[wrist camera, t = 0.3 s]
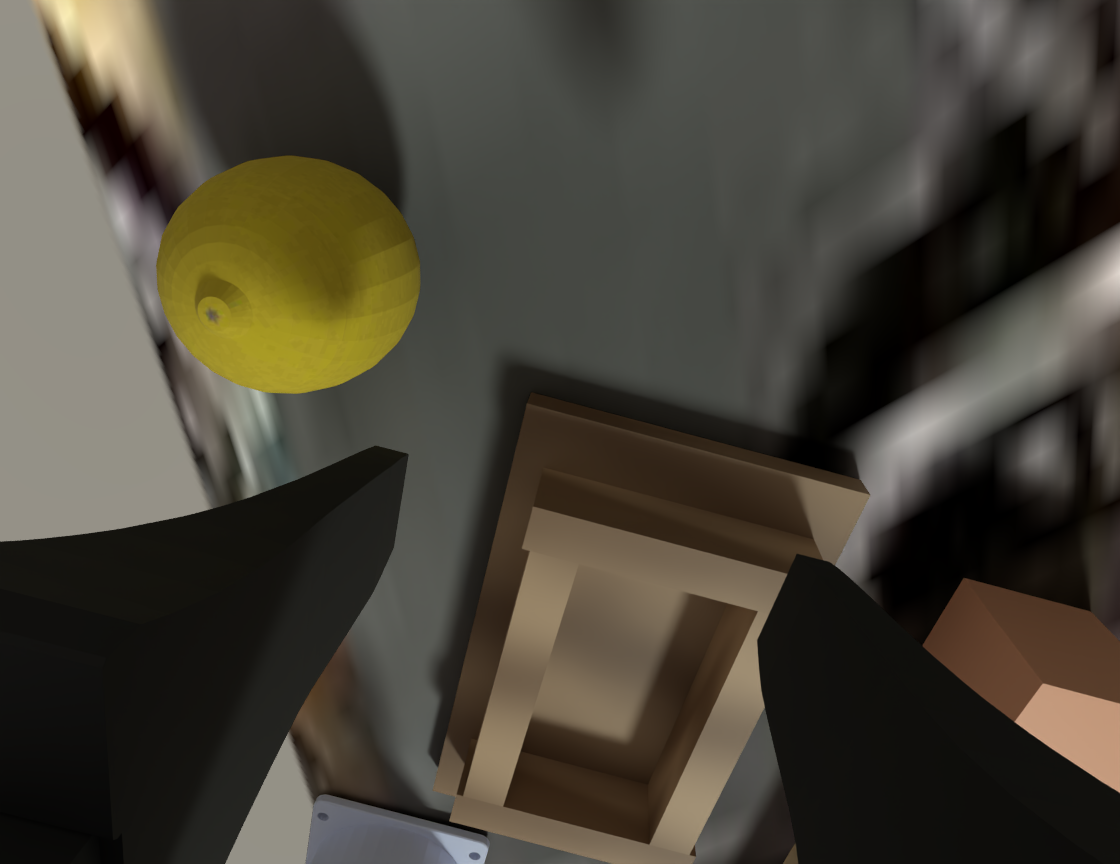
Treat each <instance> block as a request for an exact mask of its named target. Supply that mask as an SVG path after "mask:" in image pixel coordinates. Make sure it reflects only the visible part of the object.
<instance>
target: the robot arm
mask: <svg viewBox="0 0 1120 864" xmlns="http://www.w3.org/2000/svg"><path fill="white" fill-rule="evenodd" d="M407 461H408V454H406V453H402V452H398V451H395V450H391V449H387V448H383V447H379V446H374V447H371V448H368V449H366V450H363V451H361V452H359V453H357V454H354V455H352V456H350V457H348V458H345V459H343V460H341V461H339V462H337V463H334V464H332V465H330V466H328V467H325V468H323V469H321V470H318V471H316V472H314V473H312V474H309V475H307V476H305V477H302V478H300V479H298V480H295V481H292V482H290V483H287V484H284V485H282V486H279V487H276V488H274V489H271V490H268V491H266V492H263V493H260V494H258V495H255V496H253V497H250V498H247V499H244V500H241V501H237V502H234V503H231V504H228V505H224V506H221V507H217V508H214V509H210V510H206V511H203V512H199V513H195V514H191V515H187V516H183V517H178V518H173V519H169V520H163V521H159V522H153V523H148V524H143V525H138V526H133V527H128V528H123V529H116V530H110V531H103V532H95V533H89V534H81V535H73V536H64V537H54V538H45V539H34V540H22V541H4V542H0V864H225V863H226V860H227V858H228V856H229V854H230V852H231V850H232V848H233V845H234V843H235V841H236V839H237V837H238V834H239V832H240V830H241V828H242V826H243V824H244V822H245V820H246V817H247V815H248V813H249V811H250V809H251V807H252V805H253V803H254V801H255V799H256V797H257V795H258V793H259V791H260V788H261V786H262V784H263V782H264V780H265V778H266V776H267V774H268V772H269V770H270V767H271V766H272V764H273V762H274V760H275V757H276V756H277V754H278V752H279V750H280V748H281V746H282V744H283V741H284V740H285V738H286V736H287V734H288V732H289V730H290V728H291V726H292V724H293V722H294V720H295V718H296V716H297V714H298V712H299V710H300V708H301V707H302V705H303V703H304V701H305V700H306V698H307V696H308V694H309V693H310V691H311V689H312V688H313V686H314V685H315V683H316V681H317V680H318V678H319V677H320V675H321V674H322V672H323V671H324V669H325V667H326V666H327V664H328V663H329V661H330V660H331V658H332V656H333V655H334V653H335V652H336V650H337V649H338V647H339V646H340V644H341V642H342V641H343V639H344V638H345V636H346V635H347V633H348V631H349V630H350V628H351V627H352V625H353V624H354V622H355V620H356V619H357V617H358V616H359V614H360V613H361V611H362V609H363V608H364V606H365V605H366V603H367V601H368V600H369V598H370V597H371V595H372V593H373V592H374V589H375V587H376V585H377V583H378V581H379V579H380V577H381V575H382V573H383V570H384V568H385V566H386V564H387V561H388V559H389V557H390V555H391V552H392V550H393V548H394V543H395V536H396V530H397V524H398V517H399V511H400V505H401V499H402V492H403V486H404V480H405V473H406V467H407ZM757 648H758V662H759V674H760V683H761V692H762V696H763V701H764V706H765V710H766V714H767V719H768V723H769V727H770V732H771V736H772V740H773V744H774V748H775V752H776V757H777V761H778V765H779V769H780V773H781V777H782V782H783V786H784V790H785V794H786V798H787V802H788V806H789V811H790V816H791V821H792V826H793V831H794V836H795V843H796V851H797V858H798V864H1120V793H1119V792H1118V791H1116V790H1115V789H1113V788H1111V787H1110V786H1108V785H1106V784H1105V783H1103V782H1102V781H1100V780H1098V779H1097V778H1095V777H1094V776H1092V775H1091V774H1089V773H1088V772H1086V771H1085V770H1083V769H1082V768H1080V767H1079V766H1077V765H1076V764H1074V763H1073V762H1071V761H1070V760H1068V759H1067V758H1065V757H1064V756H1062V755H1061V754H1059V753H1058V752H1056V751H1055V750H1053V749H1052V748H1050V747H1049V746H1047V745H1046V744H1044V743H1043V742H1042V741H1040V740H1039V739H1037V738H1036V737H1034V736H1033V735H1032V734H1030V733H1029V732H1027V731H1026V730H1025V729H1023V728H1022V727H1021V726H1019V725H1018V724H1017V723H1015V722H1014V721H1013V720H1011V719H1010V718H1009V717H1007V716H1006V715H1005V714H1004V713H1002V712H1001V711H1000V710H998V709H997V708H996V707H994V706H993V705H992V704H990V703H989V702H988V701H986V700H985V699H984V698H983V697H981V696H980V695H979V694H978V693H976V692H975V691H974V690H973V689H971V688H970V687H969V686H968V685H967V684H965V683H964V682H963V681H962V680H961V679H960V678H958V677H957V676H956V675H955V674H954V673H953V672H951V671H950V670H949V669H948V668H947V667H946V666H944V665H943V664H942V663H941V662H940V661H939V660H937V659H936V658H935V657H934V656H933V655H932V654H931V653H930V652H928V651H927V650H926V649H925V648H924V647H923V646H922V645H921V644H920V643H918V642H917V641H916V640H915V639H914V638H913V637H912V636H911V635H910V634H909V633H908V632H907V631H905V630H904V629H903V628H902V627H901V626H900V625H899V624H898V623H897V622H896V621H895V620H894V619H893V618H892V617H891V616H890V615H888V614H887V613H886V612H885V611H884V610H883V609H882V608H881V607H880V606H879V605H878V604H877V603H876V602H875V601H874V600H873V599H872V598H871V597H870V596H868V595H867V594H866V593H865V592H864V591H863V590H862V589H861V588H860V587H859V586H858V585H857V584H856V583H855V582H853V581H852V580H851V579H850V578H849V577H848V576H847V575H846V574H844V573H843V572H842V571H841V570H840V569H838V568H837V567H836V566H835V565H833V564H832V563H830V562H828V561H824V560H820V559H816V558H812V557H808V556H805V555H801V554H796V556H795V559H794V561H793V563H792V565H791V567H790V569H789V572H788V574H787V576H786V578H785V580H784V583H783V585H782V587H781V589H780V591H779V593H778V596H777V598H776V600H775V602H774V604H773V606H772V609H771V611H770V613H769V615H768V617H767V620H766V622H765V624H764V626H763V628H762V630H761V633H760V635H759V637H758V639H757ZM488 848H489V840H488V839H487V838H486V837H485V836H484V835H481V834H478V833H474V832H470V831H466V830H462V829H458V828H455V827H451V826H447V825H443V824H439V823H435V822H431V821H428V820H424V819H420V818H416V817H412V816H408V815H405V814H401V813H397V812H393V811H389V810H385V809H381V808H378V807H374V806H370V805H366V804H362V803H358V802H355V801H351V800H347V799H343V798H339V797H335V796H331V795H326V794H324V795H320V796H318V797H317V799H316V801H315V803H314V806H313V813H312V821H311V828H310V835H309V842H308V849H307V857H306V864H484V862H485V859H486V856H487V852H488Z"/></svg>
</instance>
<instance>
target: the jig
mask: <svg viewBox="0 0 1120 864" xmlns="http://www.w3.org/2000/svg"><path fill="white" fill-rule="evenodd" d="M869 497H870V494H869V492H868V491H867V489H866V488H865V486H864V485H863V483H862V481H861V480H859V479H855V478H851V477H847V476H844V475H840V474H836V473H832V472H829V471H825V470H821V469H817V468H814V467H810V466H806V465H802V464H799V463H795V462H791V461H787V460H784V459H780V458H776V457H772V456H769V455H765V454H761V453H757V452H754V451H750V450H746V449H742V448H739V447H735V446H731V445H727V444H724V443H720V442H716V441H712V440H709V439H705V438H701V437H697V436H694V435H690V434H686V433H682V432H679V431H675V430H671V429H667V428H664V427H660V426H656V425H652V424H649V423H645V422H641V421H637V420H634V419H630V418H626V417H622V416H619V415H615V414H611V413H607V412H604V411H600V410H596V409H592V408H589V407H585V406H581V405H577V404H574V403H570V402H566V401H562V400H559V399H555V398H551V397H547V396H544V395H540V394H536V393H532V392H531V394H530V397H529V399H528V402H527V405H526V409H525V413H524V417H523V422H522V426H521V430H520V434H519V438H518V442H517V446H516V450H515V454H514V459H513V463H512V467H511V471H510V475H509V479H508V483H507V487H506V491H505V496H504V500H503V504H502V508H501V512H500V516H499V520H498V524H497V528H496V532H495V537H494V541H493V545H492V549H491V553H490V557H489V561H488V565H487V569H486V574H485V578H484V582H483V586H482V590H481V594H480V598H479V602H478V606H477V610H476V615H475V619H474V623H473V627H472V631H471V635H470V639H469V643H468V647H467V652H466V656H465V660H464V664H463V668H462V672H461V676H460V680H459V684H458V689H457V693H456V697H455V701H454V705H453V709H452V713H451V717H450V721H449V725H448V730H447V734H446V738H445V742H444V746H443V750H442V754H441V758H440V762H439V767H438V771H437V775H436V779H435V783H434V787H433V791H436V792H440V793H443V794H447V795H451V796H455V797H456V798H455V802H454V805H453V809H452V813H451V817H450V820H449V821H451V822H454V823H458V824H462V825H466V826H470V827H474V828H478V829H481V830H485V831H489V832H493V833H497V834H501V835H504V836H508V837H512V838H516V839H520V840H524V841H528V842H531V843H535V844H539V845H543V846H547V847H551V848H554V849H558V850H562V851H566V852H570V853H574V854H578V855H581V856H585V857H589V858H593V859H597V860H601V861H604V862H608V863H612V864H692V863H693V862H694V860H695V858H696V852H695V843H696V841H697V839H698V837H699V835H700V833H701V831H702V829H703V827H704V825H705V823H706V821H707V819H708V817H709V815H710V813H711V811H712V809H713V807H714V806H715V804H716V802H717V800H718V798H719V796H720V794H721V792H722V790H723V788H724V786H725V784H726V782H727V780H728V778H729V776H730V774H731V772H732V770H733V768H734V766H735V764H736V762H737V760H738V758H739V756H740V754H741V752H742V750H743V748H744V746H745V745H746V743H747V741H748V739H749V737H750V735H751V733H752V731H753V729H754V727H755V725H756V723H757V721H758V719H759V717H760V715H761V713H762V711H763V709H764V707H765V706H764V701H763V696H762V692H761V683H760V674H759V662H758V648H757V639H758V637H759V635H760V633H761V630H762V628H763V626H764V624H765V622H766V620H767V617H768V615H769V613H770V611H771V609H772V606H773V604H774V602H775V600H776V598H777V596H778V593H779V591H780V589H781V587H782V585H783V583H784V580H785V578H786V576H787V574H788V572H789V569H790V567H791V565H792V563H793V561H794V559H795V556H796V554H801V555H805V556H808V557H812V558H816V559H820V560H824V561H828V562H830V563H832V564H833V565H835V564H836V562H837V560H838V558H839V556H840V554H841V552H842V550H843V548H844V546H845V544H846V542H847V540H848V538H849V536H850V534H851V532H852V530H853V528H854V526H855V525H856V523H857V521H858V519H859V517H860V515H861V513H862V511H863V509H864V507H865V505H866V503H867V501H868V499H869Z"/></svg>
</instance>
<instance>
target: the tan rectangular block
mask: <svg viewBox="0 0 1120 864" xmlns="http://www.w3.org/2000/svg"><path fill="white" fill-rule="evenodd" d="M922 646H923V647H924V648H925V649H926V650H927V651H928V652H930V653H931V654H932V655H933V656H934V657H935V658H936V659H937V660H939V661H940V662H941V663H942V664H943V665H944V666H946V667H947V668H948V669H949V670H950V671H951V672H953V673H954V674H955V675H956V676H957V677H958V678H960V679H961V680H962V681H963V682H964V683H965V684H967V685H968V686H969V687H970V688H971V689H973V690H974V691H975V692H976V693H978V694H979V695H980V696H981V697H983V698H984V699H985V700H986V701H988V702H989V703H990V704H992V705H993V706H994V707H996V708H997V709H998V710H1000V711H1001V712H1002V713H1004V714H1005V715H1006V716H1007V717H1009V718H1010V719H1011V720H1013V721H1014V722H1015V723H1017V724H1018V725H1019V726H1021V727H1022V728H1023V729H1025V730H1026V731H1027V732H1029V733H1030V734H1032V735H1033V736H1034V737H1036V738H1037V739H1039V740H1040V741H1042V742H1043V743H1044V744H1046V745H1047V746H1049V747H1050V748H1052V749H1053V750H1055V751H1056V752H1058V753H1059V754H1061V755H1062V756H1064V757H1065V758H1067V759H1068V760H1070V761H1071V762H1073V763H1074V764H1076V765H1077V766H1079V767H1080V768H1082V769H1083V770H1085V771H1086V772H1088V773H1089V774H1091V775H1092V776H1094V777H1095V778H1097V779H1098V780H1100V781H1102V782H1103V783H1105V784H1106V785H1108V786H1110V787H1111V788H1113V789H1115V790H1116V791H1118V792H1119V793H1120V641H1119V640H1118V639H1117V638H1116V637H1115V636H1114V635H1113V634H1112V633H1111V632H1110V631H1109V630H1108V629H1107V628H1106V627H1105V626H1104V625H1103V624H1102V623H1101V622H1100V621H1099V620H1098V619H1097V617H1096V616H1095V615H1094V614H1093V613H1092V612H1091V611H1087V610H1083V609H1079V608H1076V607H1072V606H1068V605H1064V604H1061V603H1057V602H1053V601H1049V600H1045V599H1042V598H1038V597H1034V596H1030V595H1027V594H1023V593H1019V592H1015V591H1012V590H1008V589H1004V588H1000V587H997V586H993V585H989V584H985V583H982V582H978V581H974V580H970V579H967V578H963V580H962V582H961V583H960V585H959V586H958V588H957V590H956V591H955V593H954V595H953V596H952V598H951V600H950V601H949V603H948V604H947V606H946V608H945V609H944V611H943V613H942V614H941V616H940V618H939V619H938V621H937V622H936V624H935V626H934V627H933V629H932V631H931V632H930V634H929V636H928V637H927V639H926V640H925V642H924V644H923V645H922Z"/></svg>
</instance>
